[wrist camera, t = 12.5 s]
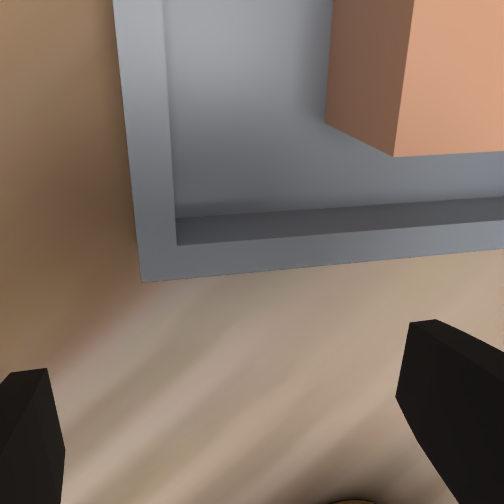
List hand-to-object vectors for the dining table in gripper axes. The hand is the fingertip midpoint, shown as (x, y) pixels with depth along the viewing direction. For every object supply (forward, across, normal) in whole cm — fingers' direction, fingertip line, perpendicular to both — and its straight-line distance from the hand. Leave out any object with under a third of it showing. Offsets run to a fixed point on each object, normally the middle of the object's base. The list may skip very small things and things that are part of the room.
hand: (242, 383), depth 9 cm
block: (+9, -7, -6) cm, 13 cm away
